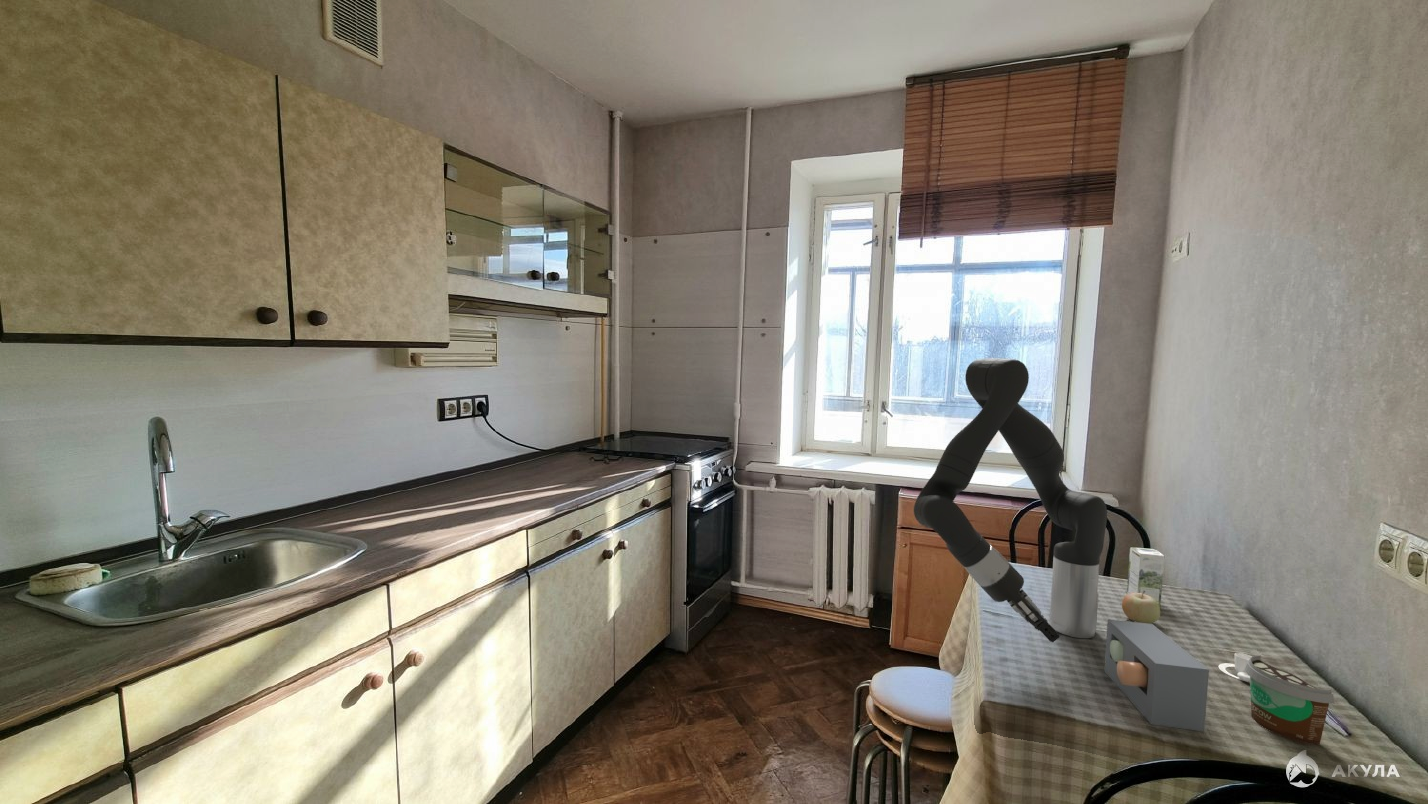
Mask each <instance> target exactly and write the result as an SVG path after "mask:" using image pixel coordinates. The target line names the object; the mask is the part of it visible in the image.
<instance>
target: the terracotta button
mask: <svg viewBox="0 0 1428 804" xmlns="http://www.w3.org/2000/svg"><path fill="white" fill-rule="evenodd" d="M1148 671H1149V668H1148V667H1147V666H1145V665H1144V664H1143V663H1136V662H1127V661H1119V662H1118V663H1117V675H1118V678H1119V680H1120V682H1121V683H1122V684H1123V685H1131V686H1139V687H1147V685H1148Z"/></svg>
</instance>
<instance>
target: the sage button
mask: <svg viewBox="0 0 1428 804" xmlns="http://www.w3.org/2000/svg"><path fill="white" fill-rule="evenodd" d="M1123 649H1124V644H1122V643H1121V642H1120V641H1117V640H1112V641H1111V643H1110V653H1111V656H1112V659H1113V660H1114V661H1115V662H1119V661H1123Z"/></svg>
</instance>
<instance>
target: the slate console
mask: <svg viewBox="0 0 1428 804" xmlns="http://www.w3.org/2000/svg"><path fill="white" fill-rule="evenodd" d="M1106 624H1107V625H1106V636H1105V637H1106V638H1105V639H1106V640H1105V654H1104V656H1105V657H1104V668H1103V669H1104V670H1103V671H1104V672H1105V674H1106V675H1107V677H1109V678H1110V679H1111V681H1112V682H1113V683H1114V684H1115V685H1116V686H1117V688H1118V689H1120V691H1121V692H1122V694H1124V695H1125V697H1127V699H1128V700H1129V701H1130V702H1131V704H1133V706H1135V708H1137V710H1138V711H1139V713H1141V714H1142V716H1143V717H1144V718H1145V719H1146V720H1147V722H1148V723H1150V725H1153V726H1154V725H1155V726H1162V727H1169V728H1177V729H1183V730H1190V731H1197V732H1205V726H1206V716H1207V714H1206V713H1207V702H1208V690H1209V689H1208V688H1209V675H1210V669H1209V668H1208V667H1207V666H1206V665H1204V664H1203V663H1201V662H1200V661H1199V660H1197V658H1195V657H1194V656H1193V655H1192V654H1190V653H1189V652H1188V651H1186V649H1184V648H1183V647H1181V646H1180V645H1179V644H1178V643H1176V642H1175V641H1174V640H1173V639H1172V638H1171V637H1169V636H1168V635H1167V634H1165V633H1164V632H1163V631H1162V630H1160V629H1159V628H1158V627H1157V626H1156V625H1154V623H1152V624H1148V623H1138V622H1135V621H1125V620H1118V619H1111V618H1110V619H1107V623H1106ZM1112 640H1117V641H1120V642H1121V643H1122V644H1124V649H1123V661H1127V662H1136V663H1143V664H1144V665H1145V666H1147V667H1148V668H1149V671H1148V685H1147V687H1139V686H1131V685H1123V684H1122V683H1121V682H1120V680H1119V678H1118V675H1117V663H1118V662H1115V661H1114V660H1113V659H1112V656H1111V653H1110V643H1111V641H1112Z"/></svg>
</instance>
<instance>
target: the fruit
mask: <svg viewBox="0 0 1428 804" xmlns="http://www.w3.org/2000/svg"><path fill="white" fill-rule="evenodd" d="M1144 593H1145V591H1144V590H1143V594H1142V593H1130V594H1127V593H1126V595H1125V596H1123V598H1122V601H1121V607H1122V612H1123V613H1124V615H1125V616H1126V617H1127V618H1128V619H1129V620H1130V621H1131V622H1138V623H1148V624H1154V623H1157V621H1158V620H1159V619H1160V617H1161V606H1160V607H1159V604H1158V603H1157V601H1156V600H1155V599H1154V598H1152V597H1150V596H1148V595H1145V594H1144Z"/></svg>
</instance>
